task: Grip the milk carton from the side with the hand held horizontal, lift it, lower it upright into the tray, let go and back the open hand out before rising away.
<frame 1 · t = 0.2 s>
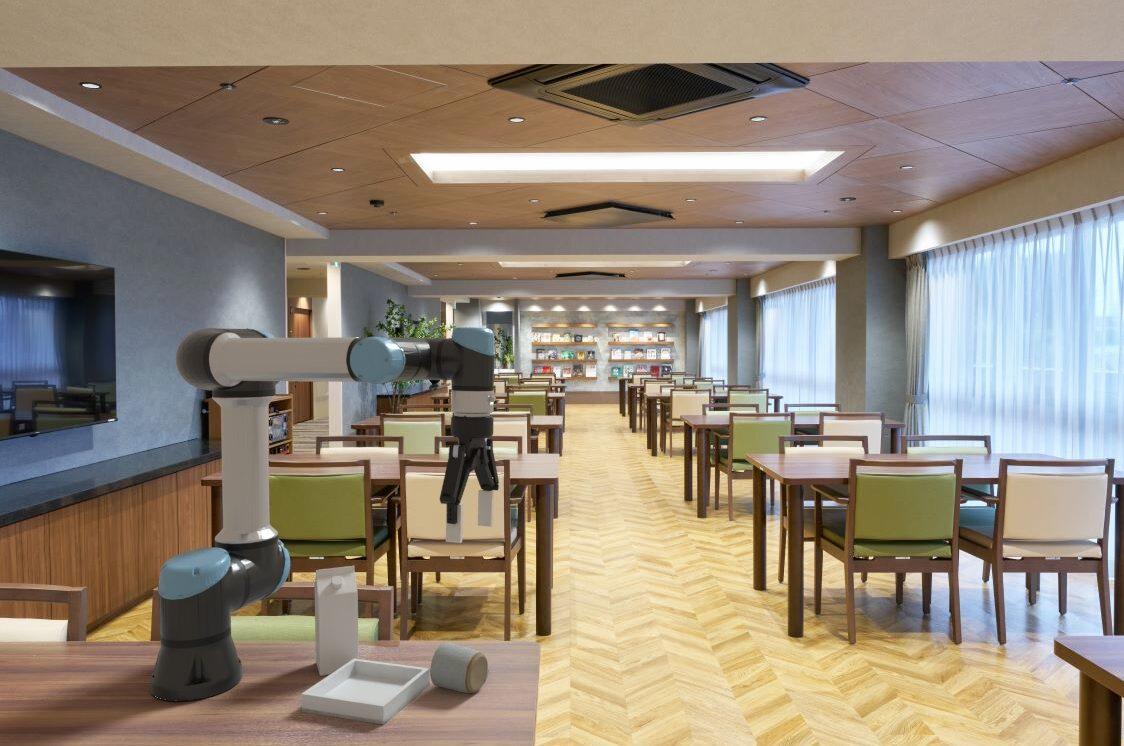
hand: (470, 533, 139), 27 cm above the table, tool pointing down, fingers open, 13 cm apart
milk carton: (337, 667, 149), on the table
ceramic mug: (463, 686, 140), on the table
tray: (367, 697, 135), on the table
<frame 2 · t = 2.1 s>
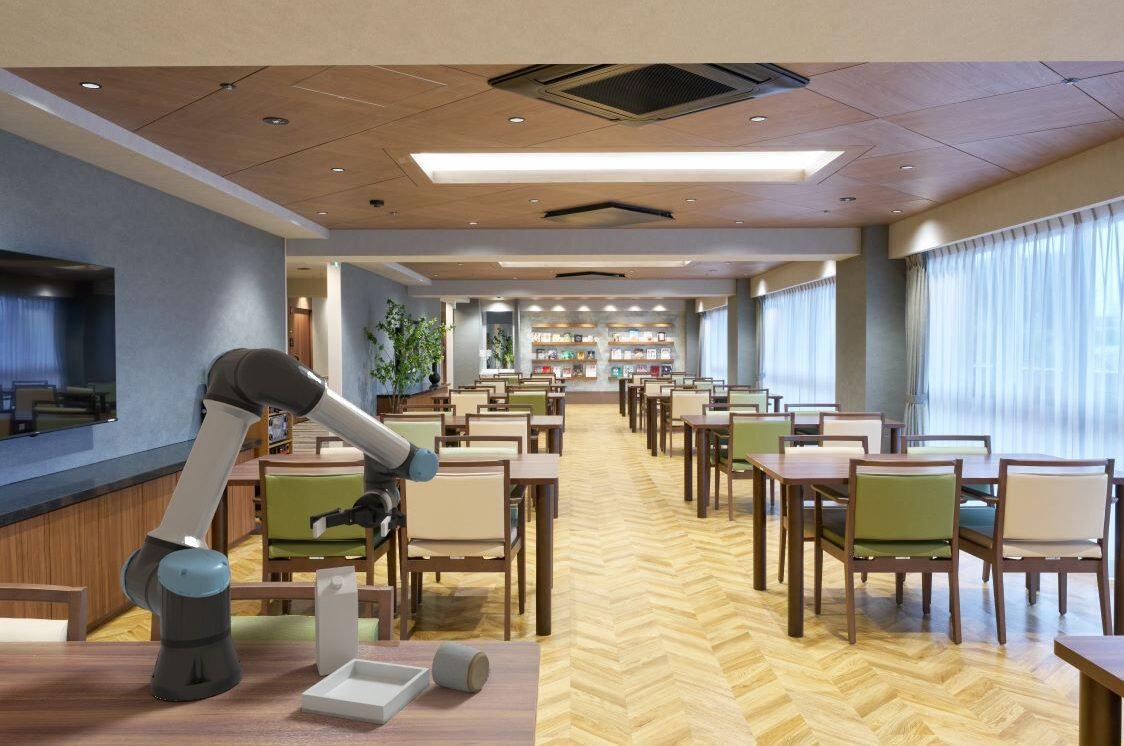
hand: (348, 530, 157), 24 cm above the table, tool horizontal, fingers open, 13 cm apart
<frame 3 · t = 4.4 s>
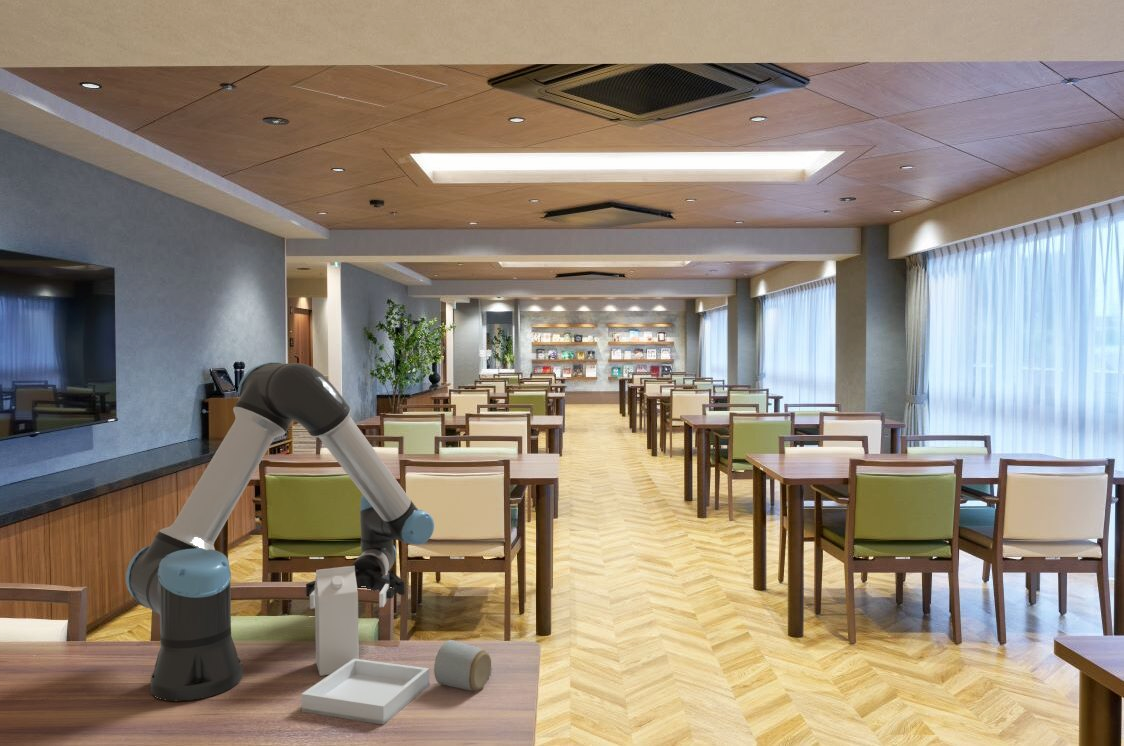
hand: (346, 601, 154), 11 cm above the table, tool horizontal, fingers open, 13 cm apart
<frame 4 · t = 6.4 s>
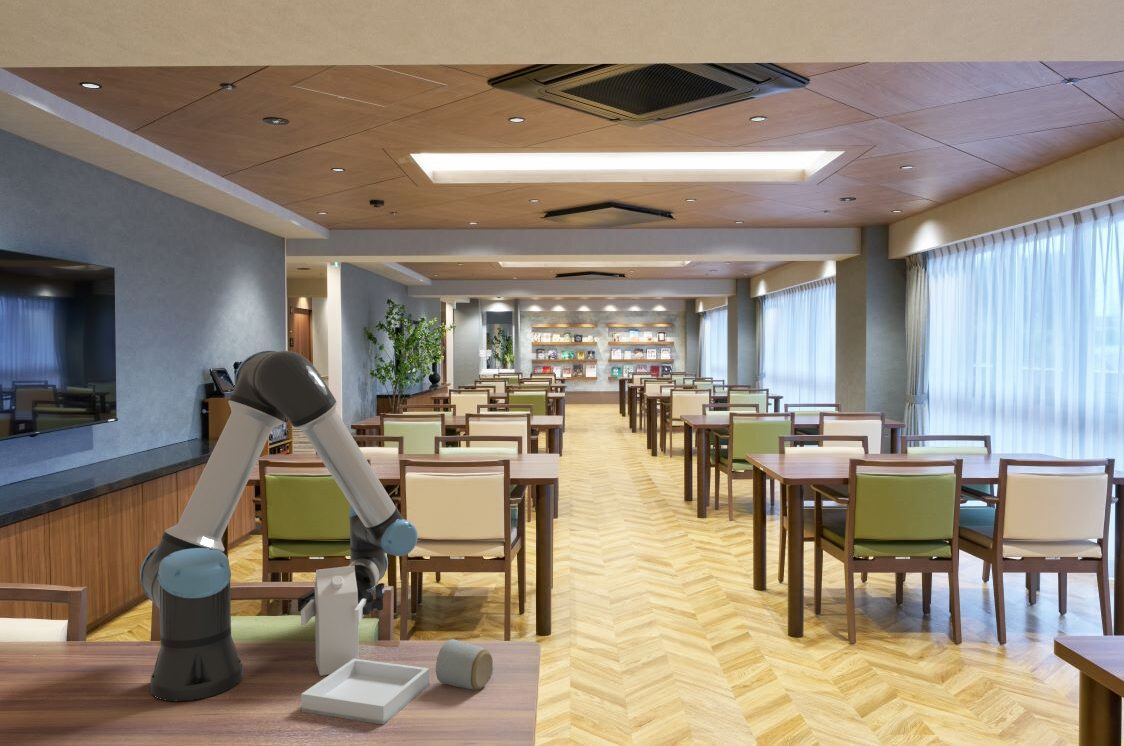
hand: (329, 617, 144), 11 cm above the table, tool horizontal, fingers closed on milk carton, 9 cm apart
milk carton: (337, 667, 149), on the table, touching gripper
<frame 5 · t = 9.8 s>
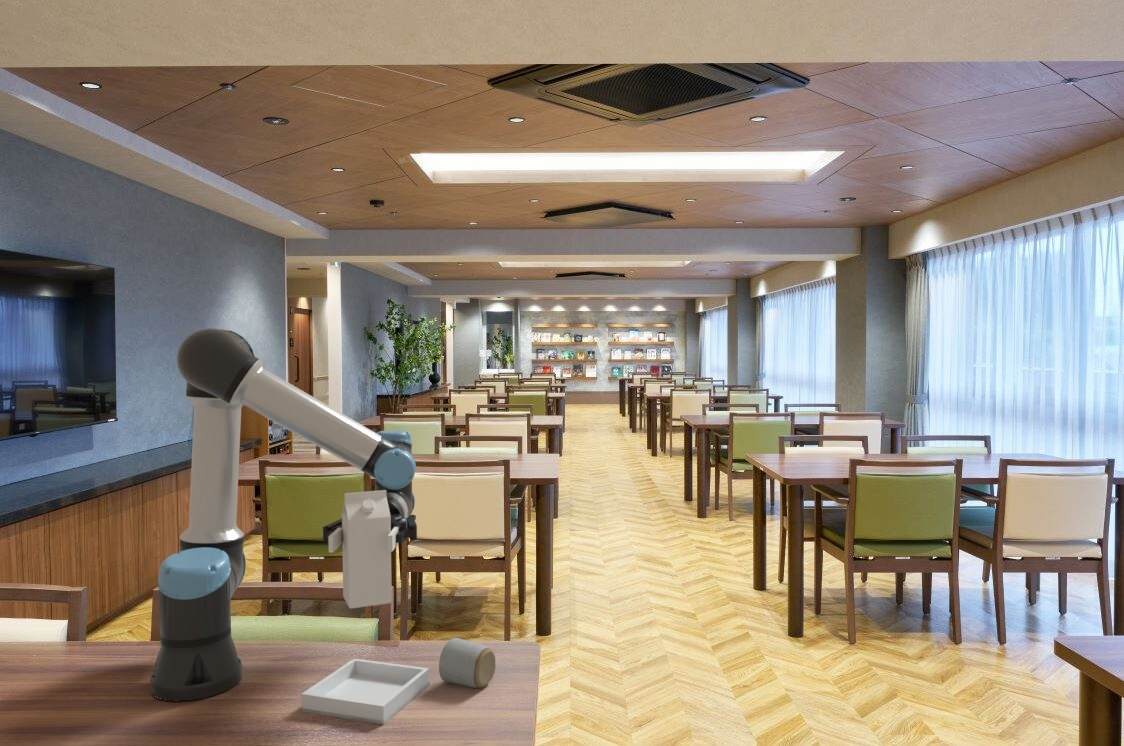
hand: (360, 544, 130), 28 cm above the table, tool horizontal, fingers closed on milk carton, 9 cm apart
milk carton: (367, 601, 135), point 17 cm above the table, touching gripper
when the fingers open (13 cm above the table, at t = 13.1 s): milk carton drops 1 cm, resting on tray.
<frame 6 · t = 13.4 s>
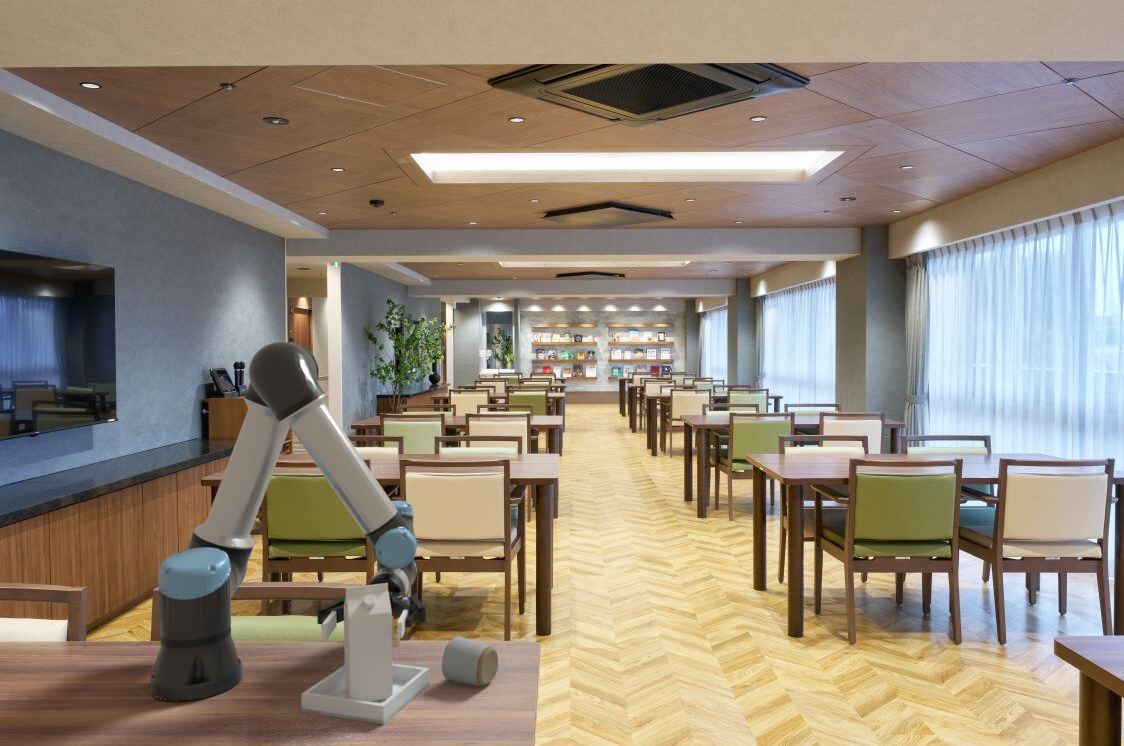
hand: (361, 631, 131), 13 cm above the table, tool horizontal, fingers open, 12 cm apart
milk carton: (368, 695, 135), resting on tray
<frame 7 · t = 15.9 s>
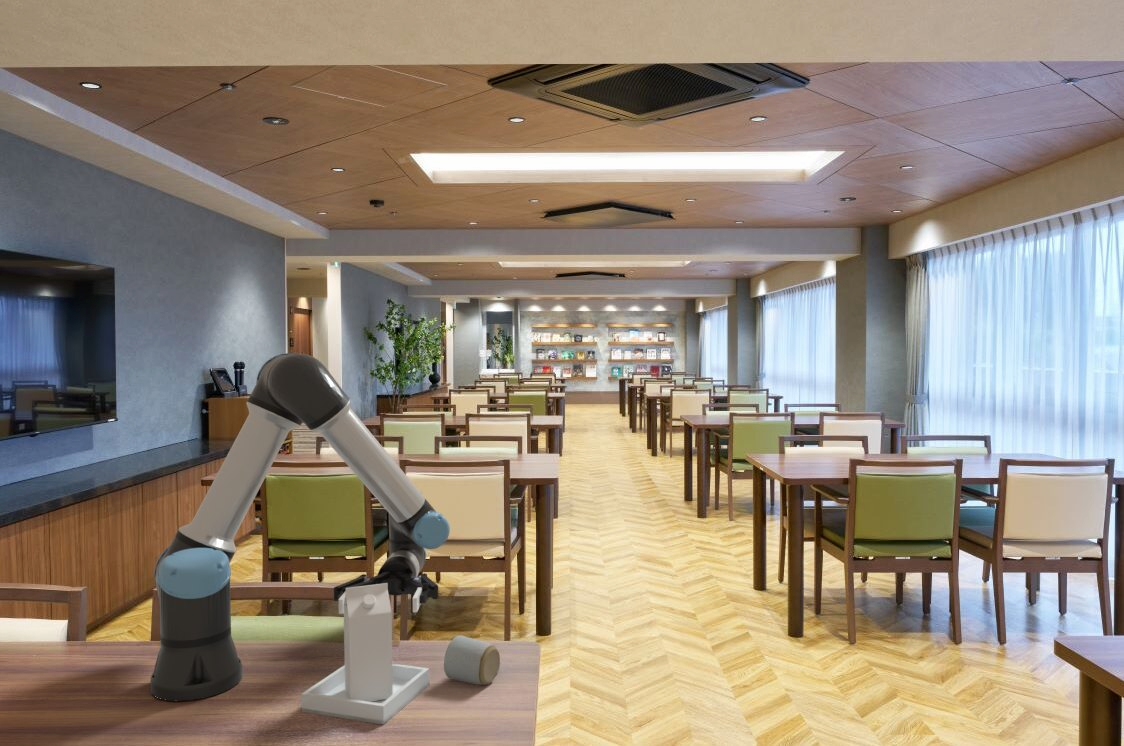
hand: (377, 606, 144), 13 cm above the table, tool horizontal, fingers open, 13 cm apart
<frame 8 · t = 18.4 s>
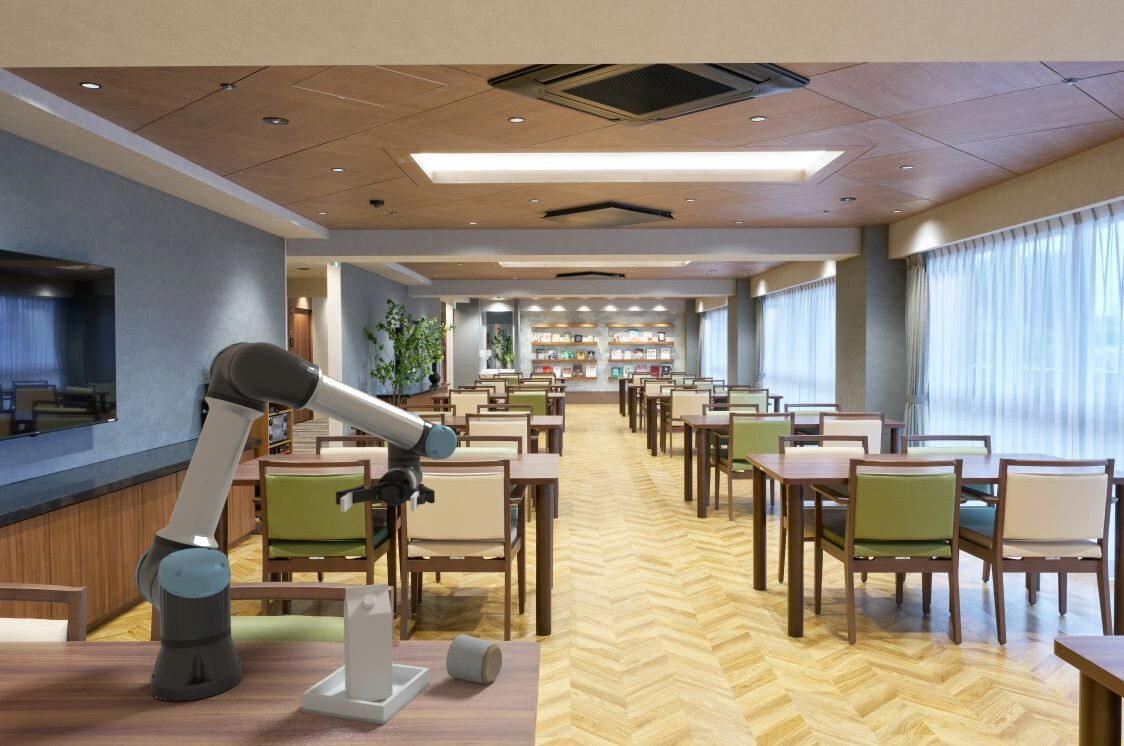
hand: (377, 504, 153), 30 cm above the table, tool horizontal, fingers open, 13 cm apart
at the end: milk carton inside the target area on the tray (0.1 cm from its centre), point 0.4 cm above the tray's base; milk carton tilted 0°; the gripper is holding nothing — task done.
